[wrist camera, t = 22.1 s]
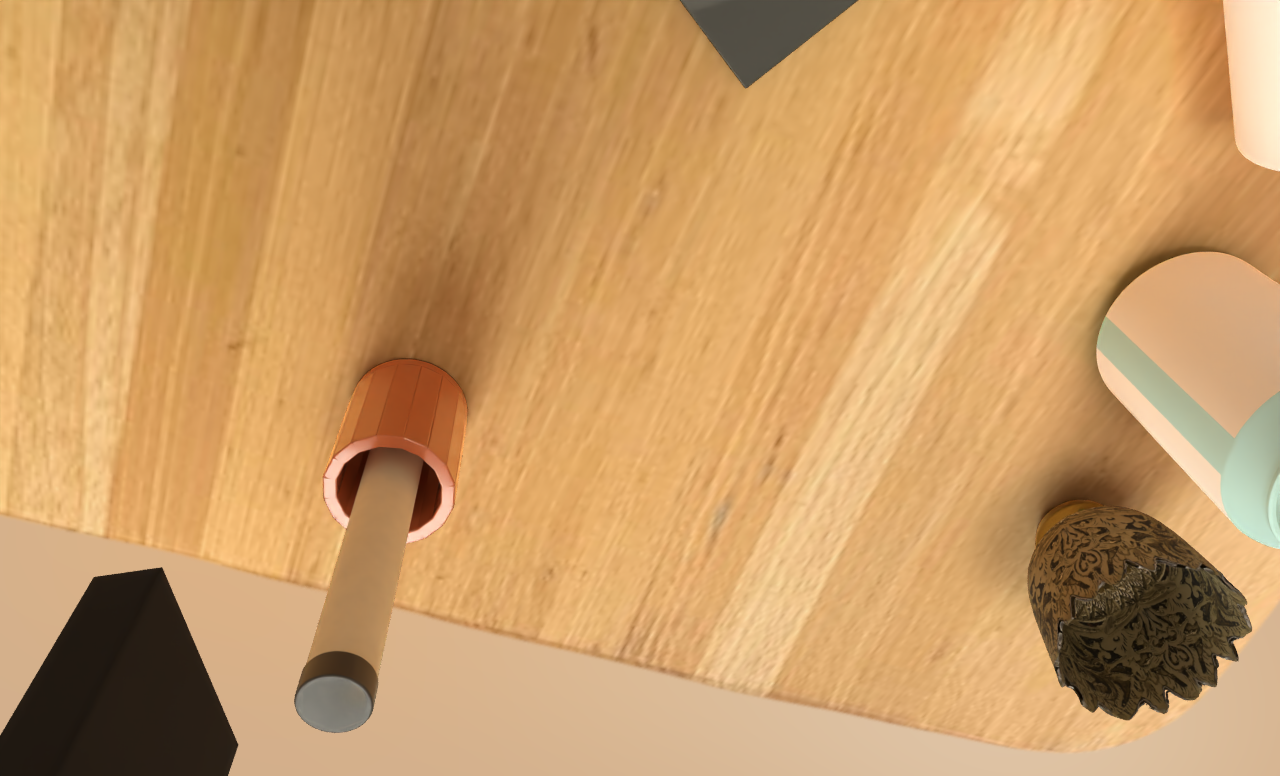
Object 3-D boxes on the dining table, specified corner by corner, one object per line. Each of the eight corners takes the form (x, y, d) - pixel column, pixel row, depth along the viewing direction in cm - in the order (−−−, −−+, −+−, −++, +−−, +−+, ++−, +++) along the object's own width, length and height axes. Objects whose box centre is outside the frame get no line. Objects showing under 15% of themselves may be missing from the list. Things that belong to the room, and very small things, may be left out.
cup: (1184, 526, 50) (1287, 646, 43) (1047, 620, 52) (1123, 749, 45) (1095, 424, 47) (1190, 534, 40) (955, 527, 49) (1020, 649, 42)
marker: (368, 413, 44) (276, 702, 30) (407, 382, 44) (333, 662, 29) (406, 447, 45) (334, 745, 31) (444, 418, 44) (389, 707, 30)
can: (1289, 252, 44) (1521, 397, 33) (1226, 409, 47) (1420, 586, 36) (1119, 238, 43) (1301, 381, 32) (1067, 398, 46) (1218, 575, 36)
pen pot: (326, 404, 44) (294, 485, 39) (411, 336, 43) (390, 411, 38) (408, 478, 46) (387, 566, 41) (491, 415, 45) (481, 497, 40)
